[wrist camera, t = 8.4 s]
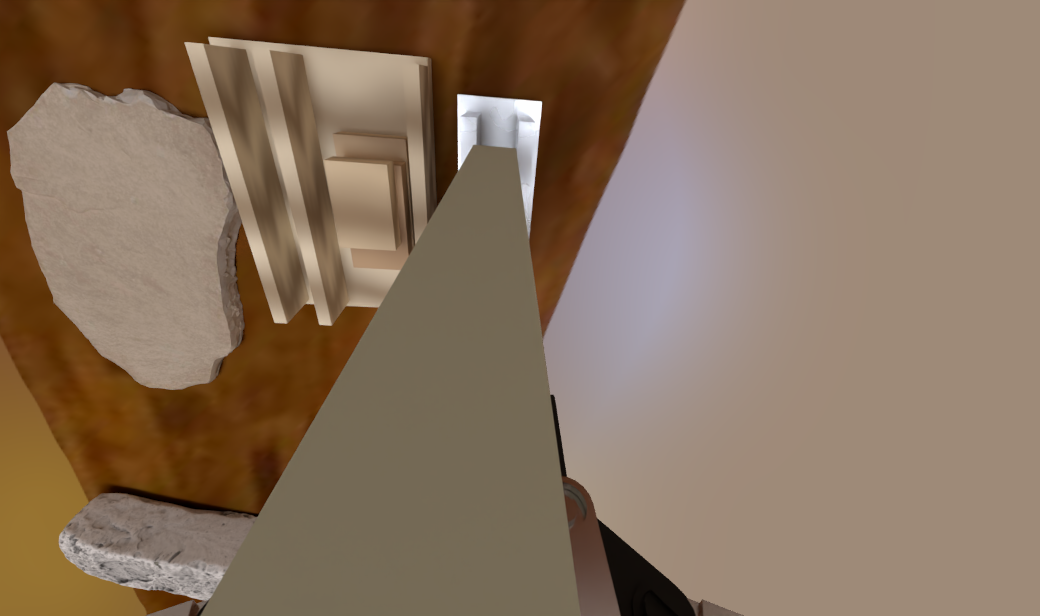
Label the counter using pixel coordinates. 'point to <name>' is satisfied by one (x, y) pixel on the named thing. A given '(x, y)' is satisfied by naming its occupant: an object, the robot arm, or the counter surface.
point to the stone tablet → (133, 229)
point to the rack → (310, 156)
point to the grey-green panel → (428, 443)
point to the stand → (502, 134)
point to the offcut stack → (372, 198)
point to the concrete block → (154, 543)
